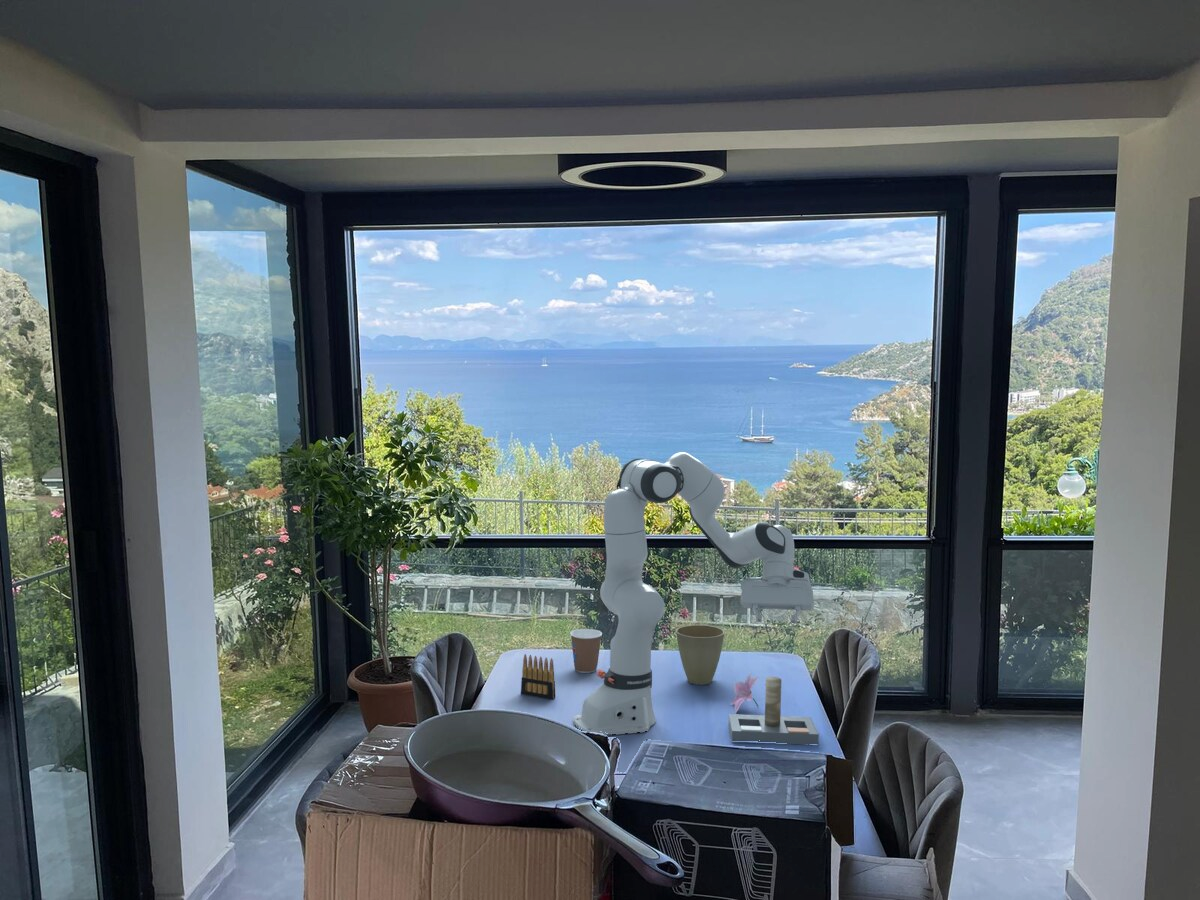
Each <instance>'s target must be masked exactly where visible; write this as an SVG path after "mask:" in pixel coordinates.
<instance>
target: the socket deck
mask: <svg viewBox="0 0 1200 900" xmlns="http://www.w3.org/2000/svg"><path fill="white" fill-rule="evenodd" d="M728 729H729V733H730V734H731V735H730V739H731V738H732V740H731V742H732V741H758V742H776V743H787V744H802V745H801V746H804V745H803V744H808V745H807V746H810V745H809V744H819V743H820V741H819V740H820V737H819V736H820V734H819V731H818V729H817V727H816V725H815V723H814V721H813V719H812V717H811V716H793V715H792V716H790V715H789V716H788V715H785V716H784V715H780V726H777V727H771V726H767V725H765V714H764V715H762V714H759V715H758V714H736V713H735V714H734V713H728ZM759 740H760V741H759ZM735 743H738V744H739V742H735ZM787 744H786V745H787ZM819 745H820V744H819Z"/></svg>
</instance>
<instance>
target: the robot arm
mask: <svg viewBox="0 0 1200 900" xmlns="http://www.w3.org/2000/svg"><path fill="white" fill-rule="evenodd" d="M618 476H619V477H618V481H617V482H616V489H614V490H613V491H610V492H609V493H608V494H607V496H606V497H605V500H604V508H603V529H604V541H605V553H606V565H605V566H606V567H605V575H604V580H603V582H602V583H601V586H600V590H599V594H600V599H601V601H602V602H603V604H604V605H605V607H606V608H607V610H608V611H610V612H612V613H613V614H615V615H616V616H617V617H618V618H617V619H618V623H617V628H616V630H615V635H614V636H613V637H612V638H611V640H610V646H609V647H610V651H609V653H610V655H609V656H610V657H609V659H610V660H609V667H608V671H604V669H599V670H598V671H597V672H596V674H597V675H596V676H597V677H599V678H600V679H602V680H603V683H602V684H601V685H600V686H598V687H597V688H595V690H594V691H593V692H592V693H590V694H589V695H588V696H586V698H585V699H584V701H583V704H582V708H581V713H580V714H576V715H574V716H573V724H574V726H575V725H576V726H575V727H576V728H577V729H579V731H581V730H583V731H587V732H597V733H603V734H606V733H608V734H611V735H610V736H613V735H612V734H616V735H625V733H628V734H638V733H637V732H640V733H646V732H645V731H647V732H648V731H650V728H651V727H652V726H653V725H654V724H655V723H656V721H657V719H656V717H655V712H654V708H653V701H652V700H653V699H652V691H651V690H652V686H653V670H652V668H651V667H652V666H651V663H652V661H651V659H652V658H651V657H652V640H653V636H654V633H655V629H656V626H657V624H658V623H659V622H660V621H661V619H663V616H664V614H665V609H666V607H665V606H666V605H665V600H664V599H663V597H662V596H661V595H660V593H659V592H658V591H657V590H656V589H655V588H654V587H652V586H651V585H649V584H647V583H644V581H643V574H642V573H643V568H644V563H645V562H646V560H648V559H647V558H648V543H647V533H646V523H645V522H646V520H645V517H644V516H645V510H646V506H647V504H648V503H649V502H650V503H653V504H665V503H668V502H669V501H671V500H672V499H674V498H675V497H676V496H677V494H678V495H679V496H680V497H681V499H683V500H684V501H685V502H686V503H687V504H688V506H689V508H688V511H689V516H690V518H691V519H692V521H693V522H694V524H695V525H696V526H697V527H698V529H699V530H700V531H701V532H702V533H703V535H704V536H705V537H706V539H707V540H708V541H709V542H710V543H711V545H712V546H713V547H714V548H715V549H716V551H717V553H718V554H719V556H720V558H721V560H722V561H723V562H724V564H726V565H727V566H729V567H731V568H732V569H737V570H738V569H741V568H743V567H746V566H748V565H749V564H751V563H752V562H755V561H758V560H761V561H763V566H762V577H749V576H747V577H746V578H744V579H742V580H741V581H740V589H741V591H740V592H741V594H740V606H741V607H742V608H744V609H752V611H753V613H754V615H755V617H756V618H755V621H756V623H762V622H763V615H762V613H759V610H763V609H764V610H783V611H785V610H787V611H795V613H794V614H791V615H790V624H797V621H798V618H799V616H801V614H802V611H807V612H808V611H809V612H810V611H812V610H813V609H814V608H815V599H814V598H815V596H814V591H813V586H812V584H811V580H810V575H809V572H806V571H802V570H800V569H796V568H795V567H794V560H795V551H796V549H795V541H794V540H795V539H794V536H793V532H792V531H791V530H790V529H789V528H788V527H786V526H784V525H782V524H781V525H780V524H775V525H772V524H771V523H769V522H766V521H759V522H755V523H754V524H751V525H749V526H747V527H745V528H743V529H740V530H738V531H735V532H728V531H726V529H725V528H724V526H722V525H721V523H720V522H719V520H718V519H717V518H716V517H715V513H717V511H718V510H719V509H720V507H721V505H722V504H723V502H724V498H725V493H726V492H725V485H724V483H723V481H722V480H721V478H720V477H719V476H718V475H717V474H716V473H715V472H713V471H712V470H711V469H710V468H709V467H708V465H705V464H704V463H703V462H702V461H700V459H698V458H696V457H695V456H693V455H691V454H690V453H687V452H684V451H680V452H677V453H676V452H675V453H674V454H672V455H671V456H670V457H669V458H668V459H667V460H666V461H665V462H664V463H663V462H658V461H657V460H655V459H654V460H653V459H648V458H647V459H646V458H634V459H631V460H629V461H627V462H626V463H625V464H624V465H623V466H622V468H621V470H620V473H619V475H618ZM577 726H578V727H580V728H578V727H577ZM581 728H582V729H581ZM600 731H602V732H600ZM605 732H606V733H605Z"/></svg>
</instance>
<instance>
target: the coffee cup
mask: <svg viewBox="0 0 1200 900" xmlns="http://www.w3.org/2000/svg"><path fill="white" fill-rule="evenodd" d="M569 635H570V636H571V637H570V638H571V639H570V640H571V647H572V656H573V657H572V658H573V666H574V669H575V671H576V672H577V673H580V674H581V673H582V674H590V673H594V672H596V671H597V668H598V663H599V655H600V648H601V639H602V635H603V633H602V631H600V630H598V629H592V628H582V629H581V628H580V629H574V630H571V631H570V634H569Z"/></svg>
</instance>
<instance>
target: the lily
mask: <svg viewBox="0 0 1200 900" xmlns="http://www.w3.org/2000/svg"><path fill="white" fill-rule="evenodd" d="M759 679H760V677H759V676H755V677H753V678H752V672H750V673H749V675H748V676H747V677H746V679H745V681H744V682H743V681H737V682H735V683H734V685H733V690H734V693H735V695H736V696H735V697H734V698H733V699H732V701H730V704H731V705H732V706H733V705H734V713H735V714H736V713H738V711H739V709H740V707H741V705H742V704H743V702H744V701H754V703H755V705H756V707H757V706H759V704H758V703H757V701H756V700H755V699H754V697H753V693H752V688H753V687H754V685H755V684H756V683H757V681H758V680H759ZM731 705H730V706H731Z"/></svg>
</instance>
